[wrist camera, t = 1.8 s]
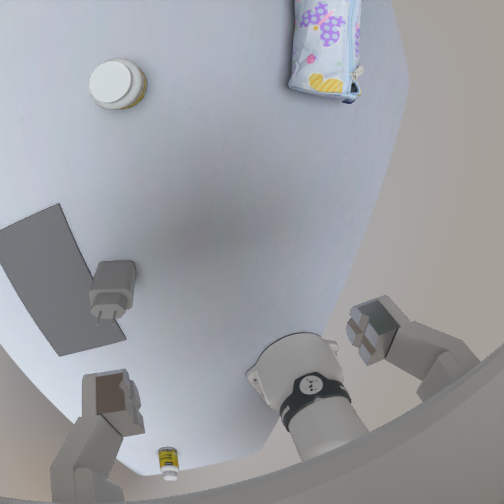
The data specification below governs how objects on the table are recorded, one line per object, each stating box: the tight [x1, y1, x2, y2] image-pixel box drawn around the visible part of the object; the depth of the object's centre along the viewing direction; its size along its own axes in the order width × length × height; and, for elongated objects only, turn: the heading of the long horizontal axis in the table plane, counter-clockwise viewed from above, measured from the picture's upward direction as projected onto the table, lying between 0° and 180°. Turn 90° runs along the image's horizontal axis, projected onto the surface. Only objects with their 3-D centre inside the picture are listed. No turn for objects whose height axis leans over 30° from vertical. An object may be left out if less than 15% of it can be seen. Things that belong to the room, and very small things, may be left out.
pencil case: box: [288, 0, 364, 104], centre depth 29 cm, size 21×9×10 cm, turn 177°
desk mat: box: [0, 204, 126, 357], centre depth 40 cm, size 24×14×1 cm, turn 12°
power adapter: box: [89, 260, 136, 325], centre depth 36 cm, size 3×5×12 cm, turn 86°
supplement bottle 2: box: [159, 447, 179, 481], centre depth 62 cm, size 5×5×8 cm
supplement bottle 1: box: [89, 58, 147, 110], centre depth 27 cm, size 6×6×10 cm
